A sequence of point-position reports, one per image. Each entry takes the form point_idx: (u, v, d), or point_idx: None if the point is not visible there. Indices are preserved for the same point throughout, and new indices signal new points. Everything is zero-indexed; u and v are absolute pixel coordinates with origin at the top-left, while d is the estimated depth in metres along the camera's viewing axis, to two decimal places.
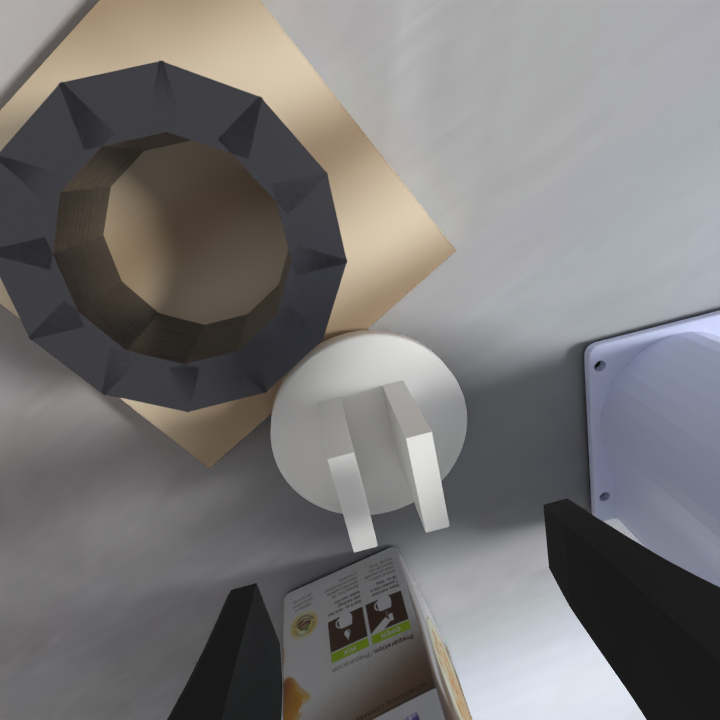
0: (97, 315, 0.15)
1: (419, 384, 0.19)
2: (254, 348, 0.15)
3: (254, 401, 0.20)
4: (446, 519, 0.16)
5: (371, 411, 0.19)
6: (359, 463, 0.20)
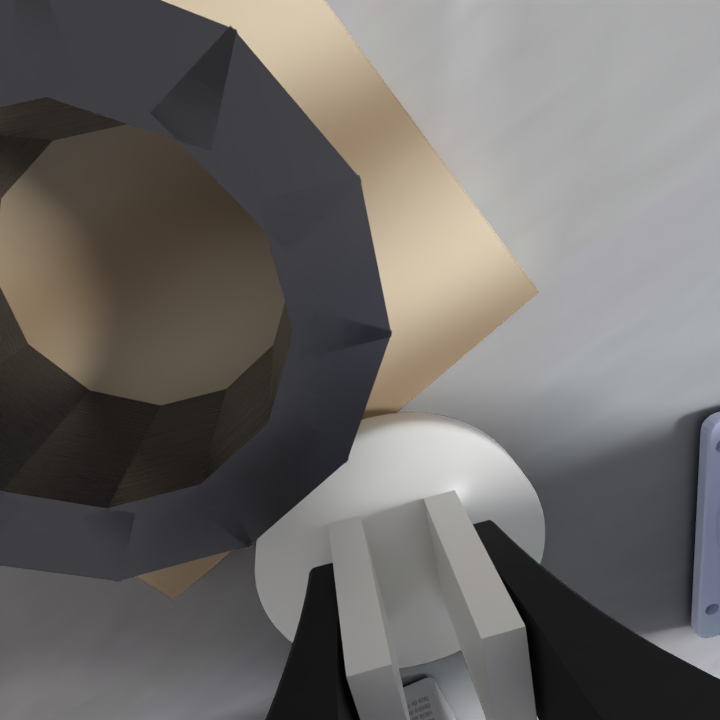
0: None
1: (478, 495, 0.13)
2: (229, 478, 0.09)
3: None
4: None
5: (406, 534, 0.13)
6: (386, 603, 0.14)
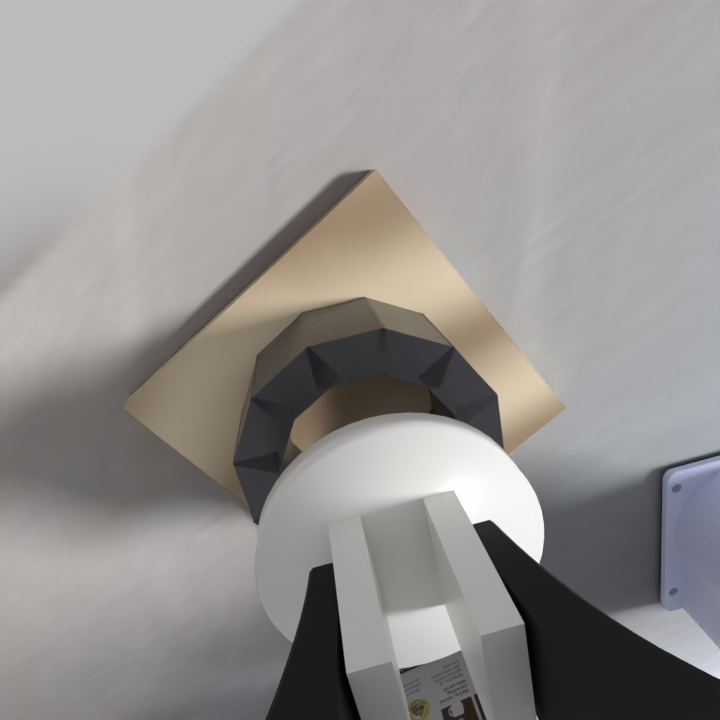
0: None
1: (477, 494, 0.13)
2: None
3: None
4: None
5: (405, 533, 0.13)
6: (386, 603, 0.14)
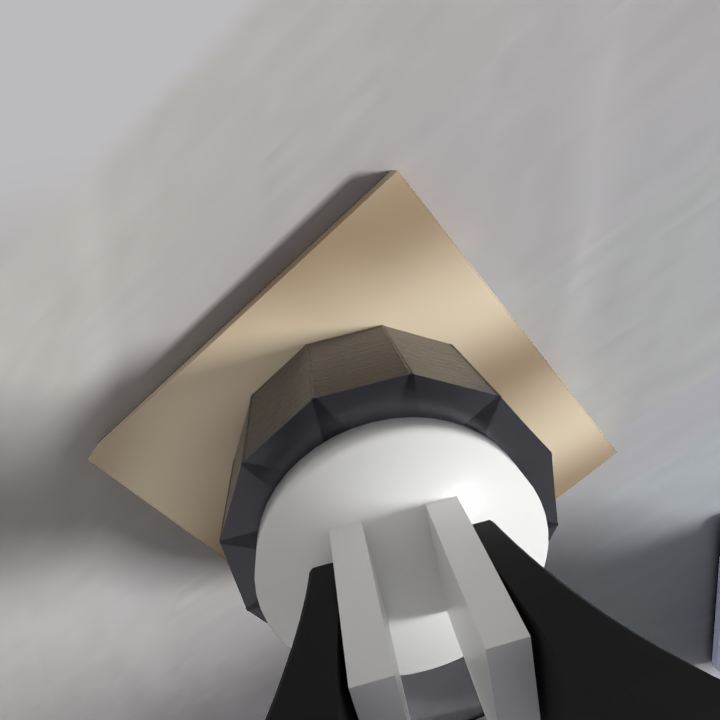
0: None
1: (481, 500, 0.13)
2: None
3: None
4: None
5: (407, 540, 0.13)
6: (387, 610, 0.13)
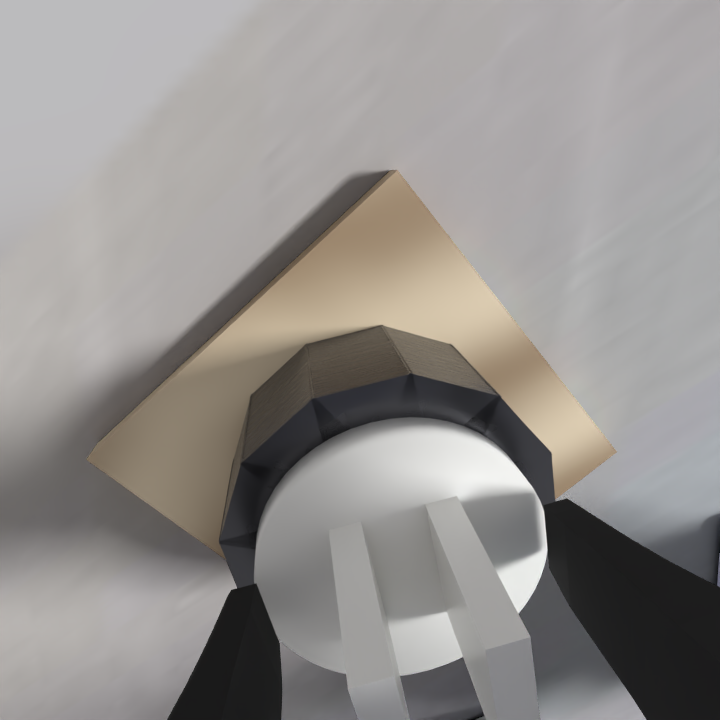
0: None
1: (480, 501, 0.12)
2: None
3: None
4: None
5: (407, 540, 0.13)
6: (387, 610, 0.13)
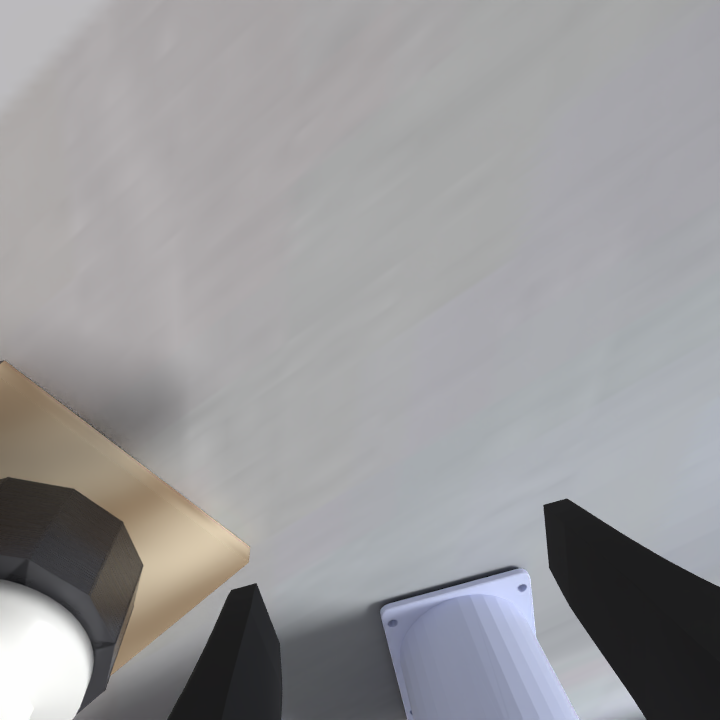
0: None
1: (7, 639, 0.17)
2: None
3: None
4: None
5: None
6: None
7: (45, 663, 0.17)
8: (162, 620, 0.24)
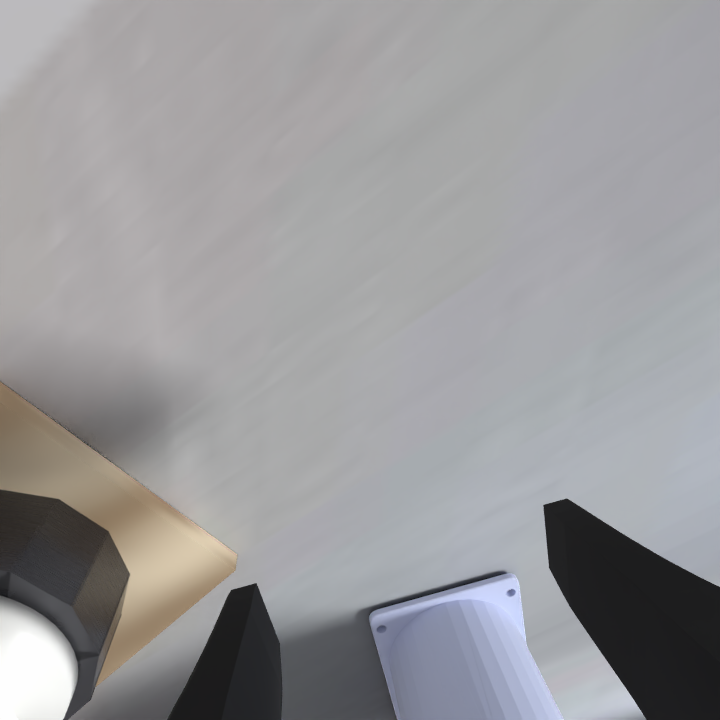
0: None
1: None
2: None
3: None
4: None
5: None
6: None
7: (28, 674, 0.17)
8: (150, 628, 0.24)
